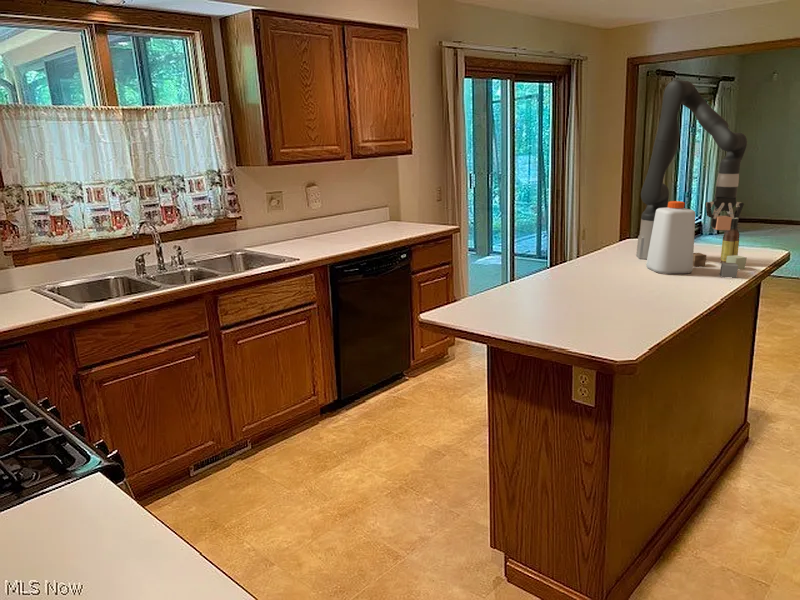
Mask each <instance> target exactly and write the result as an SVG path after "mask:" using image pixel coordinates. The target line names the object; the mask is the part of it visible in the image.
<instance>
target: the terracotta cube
mask: <svg viewBox="0 0 800 600" xmlns="http://www.w3.org/2000/svg"><path fill="white" fill-rule="evenodd" d="M716 219H717V221H716V228H712V229H713V230H716V231H726V230H730V227H731V220H732V217H729V216H728V215H718V216H717V218H716Z"/></svg>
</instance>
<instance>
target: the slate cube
mask: <svg viewBox="0 0 800 600" xmlns="http://www.w3.org/2000/svg"><path fill="white" fill-rule="evenodd" d="M738 271H739V270H738V265H737V264H736V263H724V262H721V261H720V270H719V276H722V277H721V278H725V277H732V278H731V279H737V277H738Z"/></svg>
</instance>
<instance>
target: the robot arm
mask: <svg viewBox="0 0 800 600" xmlns="http://www.w3.org/2000/svg"><path fill="white" fill-rule="evenodd" d="M681 105H683V107H685V108H686V109H689V111H691V112H692V113H693V115H694V116H695V118H696V120H697V122H698V124H700V126H701V127H702V128H703V130H705V131H706V132H707V133H708V134H709V135H710V136H711V137H712V139H713V140H714V142H715V143H716V145H717V146H718V147H719V148H720V149H721V150H722V151H724V152H726V154H725V156H724V158H722V159H721V161H720V164H719V170H718V176H717V179H716V185H715V193H714V199H713V200H712V201H705V203H704V205H705V210H706V217H708V218H711V221H710V226H711V228H712V229H713V228H716V221H717V219H716V218H717V216H719V215H720V213H721V212H726V213H727V216H729V217H732V220H731V227H732V225H733V219H734V218H739V217H740V215H741V212H742V210H743V207H744V205H745V203H744V202H741V201H738V200H737V195H738V188H739V181H740V169H741V162H742V160H743V157H744V154H745V152H746V150H747V146H748V141H747V136H746V134H744V133H743V132H733V131H732V130H731V129H730V128H729V123H728V122H727V121H726V120H725V119H724V118H723V117H722V116H721V115H720V113H719V114H718V112H717V111H716V110H714V109H713V108H712V106H711V105H709V103H708V102H707V101H706V100H705V99H704V98H703V96H702V95H701V94H700V92H699V91H698V89H697V88H696V87H695V86H694V83H692V82H691V81H688V80H682V79H673V80H671V81H670V82H669V83H667V85H666V87H665V89H664V92H663V96H662V104H661V111H660V118H659V122H658V126H657V131H656V135H655V139H654V143H653V147H652V153H651V157H650V161H649V167H648V170H647V173H646V176H645V180H644V182H643V184H642V188H641V192H640V199H641V201H642V203H644V204H645V205H646V208H645V209H644V211H643V212H642V213H641V218H640V227H639V228H640V229H639V235H638V236H637V243H636V244H637V245H636V254H635V255H636V257H637V258H638V259H642V260H647V257H648V251H649V246H650V240H651V235H652V229H653V224H654V218H655V213H656V210H657V209H658V208H667V207H668V202H669V199H670V198H669V197H670V191H669V188H668V186H667V185H666V184H665V183H663V182H664V176H665V175H666V172H667V170H668V168H669V167H670V165H671V163H672V161H673V160H674V158H675V155H676V152H677V149H678V145H679V141H680V131H679V130H680V129H679V124H678V117H679V112H680V107H681ZM713 205H714V207H715V208H714V209H713V211H712V207H713ZM734 207H735V211H734V209H733V208H734ZM731 227H730V228H731Z"/></svg>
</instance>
